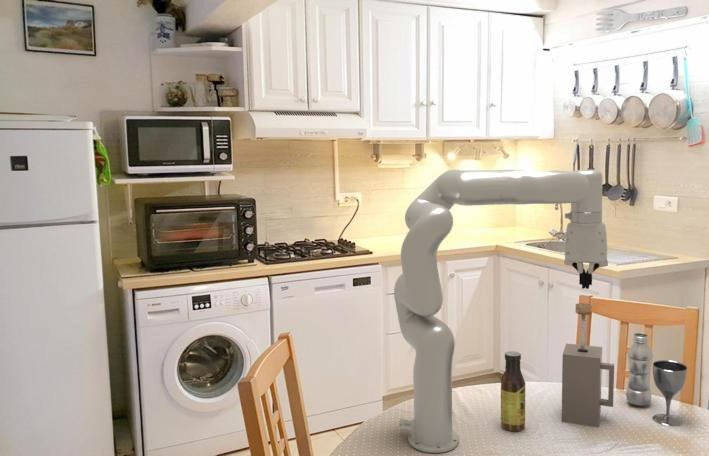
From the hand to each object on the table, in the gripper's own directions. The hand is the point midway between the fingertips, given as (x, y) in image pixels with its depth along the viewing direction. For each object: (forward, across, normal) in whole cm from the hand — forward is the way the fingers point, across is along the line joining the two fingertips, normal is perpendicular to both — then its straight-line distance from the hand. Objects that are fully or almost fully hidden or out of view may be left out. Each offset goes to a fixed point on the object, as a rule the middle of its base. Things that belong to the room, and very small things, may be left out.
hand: (585, 287), depth 162 cm
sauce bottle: (+36, -17, -13) cm, 41 cm away
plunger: (+24, -1, 0) cm, 24 cm away
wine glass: (+36, +20, +5) cm, 42 cm away
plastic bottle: (+36, +13, +13) cm, 41 cm away
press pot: (+36, +1, -1) cm, 36 cm away
